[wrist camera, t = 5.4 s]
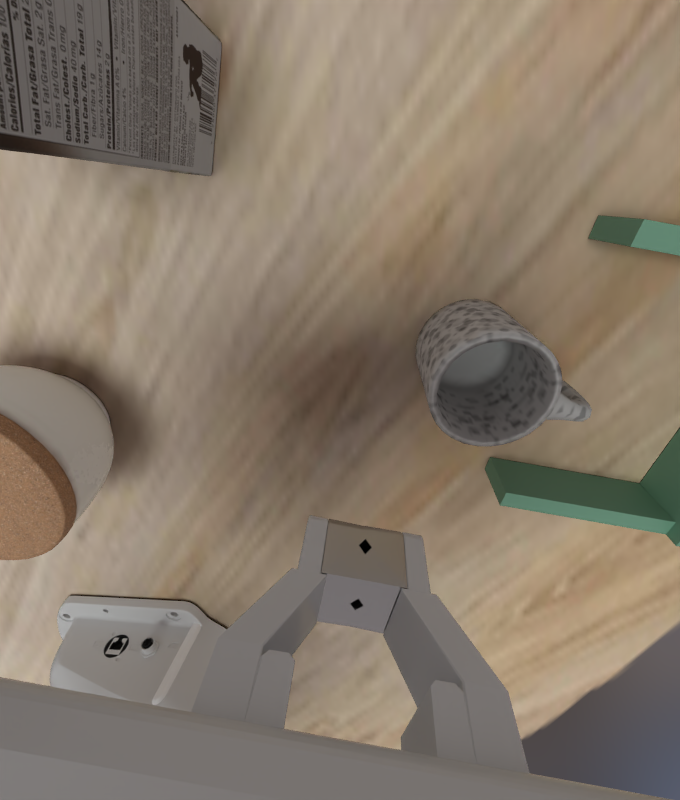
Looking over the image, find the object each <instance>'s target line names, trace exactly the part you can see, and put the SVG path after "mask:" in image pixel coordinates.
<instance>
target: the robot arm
mask: <svg viewBox="0 0 680 800" xmlns="http://www.w3.org/2000/svg"><path fill="white" fill-rule="evenodd" d="M317 621H319V622H325V623H332V624H338V625H345V626H351V627H356V628H360V629H365V630H370V631H374V632H379V633H384V635H383V636H384V638H385V640H386V642H387V644H388V646H389V648H390V650H391V653H392V655H393V657H394V659H395V661H396V663H397V665H398V667H399V669H400V672H401V674H402V676H403V678H404V680H405V682H406V684H407V686H408V688H409V690H410V693H411V695H412V697H413V699H414V701H415V703H416V705H417V707H418V709H417V711H416V712H415V714H414V716H413V717H412V719H411V721H410V723H409V724H408V726H407V728H406V729H405V731H404V733H403V735H402V736H401V750H397V749H392V748H386V747H381V746H375V745H370V744H364V743H359V742H353V741H348V740H342V739H337V738H331V737H326V736H320V735H315V734H309V733H304V732H298V731H293V730H287V729H284V724H285V718H286V712H287V706H288V700H289V694H290V688H291V682H292V676H293V670H294V664H295V660H294V659H293V658H292V655H293V653H294V652H295V651H296V649H297V648H298V647H299V646H300V644H301V643H302V642H303V640H304V639H305V638H306V636H307V635H308V634H309V632H310V631H311V630H312V628H313V627H314V626H315V624H316V622H317ZM57 623H58V629H59V632H60V635H61V638H62V640H63V641H62V643H61V645H60V647H59V649H58V651H57V653H56V655H55V658H54V660H53V663H52V667H51V671H50V686H46V685H40V684H35V683H29V682H24V681H18V680H13V679H7V678H2V677H0V800H670V799H665V798H660V797H655V796H649V795H643V794H637V793H632V792H627V791H622V790H616V789H611V788H605V787H600V786H594V785H589V784H583V783H578V782H572V781H566V780H561V779H556V778H550V777H544V776H540V775H534V774H530V773H529V770H528V765H527V762H526V758H525V754H524V750H523V747H522V743H521V739H520V735H519V731H518V728H517V724H516V720H515V716H514V712H513V709H512V705H511V701H510V697H509V693H508V691H507V690H506V688H505V687H504V685H503V684H502V683H501V681H500V680H499V679H498V677H497V676H496V675H495V673H494V672H493V671H492V669H491V668H490V667H489V665H488V664H487V662H486V661H485V660H484V658H483V657H482V656H481V654H480V653H479V652H478V650H477V649H476V648H475V646H474V645H473V643H472V642H471V641H470V639H469V638H468V637H467V635H466V634H465V633H464V631H463V630H462V629H461V627H460V626H459V625H458V623H457V622H456V620H455V619H454V618H453V616H452V615H451V614H450V612H449V611H448V610H447V608H446V607H445V606H444V604H443V603H442V601H441V600H440V599H439V597H438V596H437V595H435V594H431V592H430V585H429V578H428V571H427V564H426V557H425V550H424V542H423V538H422V537H421V536H420V535H414V534H409V533H403V532H402V533H401V532H398V531H392V530H386V529H381V528H375V527H369V526H361V525H356V524H352V523H347V522H342V521H337V520H333V519H329V520H328V519H326V518H322V517H317V516H312V515H310V516H309V519H308V522H307V527H306V532H305V537H304V541H303V546H302V551H301V555H300V560H299V565H298V569H294V568H292V569H290V570H289V571H288V572H287V573H286V574H285V575H284V576H283V577H282V578H281V579H280V580H279V581H278V582H277V583H276V584H275V585H273V586H272V587H271V588H270V589H269V590H268V591H267V592H266V593H265V594H264V595H263V596H262V597H261V598H260V599H259V600H258V601H257V602H255V603H254V604H253V605H252V606H251V607H250V608H249V609H248V610H247V611H246V612H245V613H244V614H243V615H242V616H241V617H240V618H239V619H237V620H236V621H235V622H234V623H233V624H232V625H231V626H230V627H229V628H228V629H225V628H224V627H222V626H220V625H219V624H217V623H215V622H213V621H212V620H210V619H209V618H207V617H206V615H205V614H204V613H203V612H202V611H201V610H200V609H199V608H198V607H197V606H195V605H194V604H192V603H190V602H186V601H169V600H149V599H130V598H110V597H91V596H69V597H68V598H67V599H66V600H65V601H64V603H63V604H62V606H61V607H60V609H59V612H58V616H57Z"/></svg>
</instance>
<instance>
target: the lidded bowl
mask: <svg viewBox="0 0 680 800" xmlns="http://www.w3.org/2000/svg"><path fill="white" fill-rule="evenodd" d="M113 454H114V439H113V434H112V430H111V423H110V418H109V415H108V412H107V410H106V408H105V407H104V405H103V403H102V402H101V401H100V400H99V398H98V397H97V396H96V395H95V394H94V393H93V392H92V391H91V390H89V389H88V388H87V387H86V386H84V385H82V384H81V383H79V382H77V381H75V380H73V379H71V378H69V377H66V376H63V375H58V374H54V373H51V372H48V371H45V370H41V369H37V368H33V367H26V366H16V365H0V560H21V559H29V558H32V557H36V556H39V555H42V554H44V553H46V552H48V551H50V550H52V549H53V548H54V547H55V546H56V545H58V544H59V543H60V542H61V540H62V539H63V538H64V537H65V536H66V535H67V533H68V532H69V530H70V529H71V528H72V526H73V524H74V523H75V522H76V521H77V520H78V518H79V517H80V516H81V515H82V514H83V513H84V511H85V510H86V509H87V508H88V507H89V505H90V504H91V502H92V501H93V499H94V498H95V497H96V495H97V494H98V492H99V491H100V489H101V488H102V486H103V484H104V482H105V480H106V478H107V476H108V473H109V471H110V468H111V464H112V461H113Z"/></svg>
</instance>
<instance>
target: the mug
mask: <svg viewBox="0 0 680 800" xmlns="http://www.w3.org/2000/svg"><path fill="white" fill-rule="evenodd" d="M416 360H417V364H418V368H419V372H420V375H421V379H422V383H423V386H424V390H425V394H426V397H427V401H428V405H429V408H430V411H431V414H432V417H433V419H434V420H435V422H436V424H437V425H438V426H439V427H440V429H441V430H442V431H443V432H445V433H446V434H447V435H449V436H450V437H451V438H453V439H455V440H458V441H460V442H462V443H465V444H470V445H475V446H496V445H503V444H506V443H510V442H513V441H515V440H518V439H520V438H522V437H524V436H526V435H528V434H529V433H531V432H532V431H533V430H535V429H536V428H537V427H539V426H540V425H541V424H542V423H543V422H544V421H545V420H546V419H547V420H570V421H584V420H586V419H588V418H589V417H590V415H591V411H592V409H591V407H590V405H589V404H588V402H587V401H586V400H585V399H584V398H583V397H582V396H581V395H580V394H579V393H578V392H577V391H576V390H575V389H573V388H572V387H571V386H570V385H569V384H567V383H566V382H565V381H563V380H562V374H561V369H560V366H559V363H558V361H557V359H556V358H555V356H554V355H553V353H552V352H551V351H550V350H549V349H548V348H547V347H546V346H545V345H543V344H542V343H541V342H540V341H539V340H538V339H537V338H535V337H534V336H533V335H532V334H531V333H530V332H528V331H527V330H526V329H525V328H524V327H523V326H521V325H520V324H519V323H518V322H517V321H516V320H515V319H513V318H512V317H511V316H510V315H509V314H508V313H506V312H505V311H504V310H503V309H502V308H501V307H499V306H497V305H495V304H493V303H491V302H488V301H483V300H478V299H472V300H462V301H457V302H454V303H452V304H449V305H447V306H445V307H443V308H441V309H440V310H439V311H437V312H436V313H435V314H434V315H433V316H432V317H431V318H430V319H429V320H428V321H427V322H426V323H425V325H424V327H423V328H422V330H421V332H420V334H419V337H418V340H417V344H416Z"/></svg>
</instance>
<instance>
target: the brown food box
mask: <svg viewBox="0 0 680 800" xmlns="http://www.w3.org/2000/svg"><path fill="white" fill-rule="evenodd" d="M221 49H222V46H221V42H220V40H219V38H218V37H217V36H216V35H215V34H214V33H213V32H212V31H211V30H210V29H209V28H208V27H207V26H206V25H205V24H204V23H203V22H202V20H201V19H200V18H199V17H198V16H197V15H196V14H195V13H194V12H193V11H192V10H191V9H190V7H189V6H188V5H187V4H186V3H185V2H184V1H183V0H0V149H2V150H9V151H17V152H26V153H34V154H42V155H50V156H57V157H65V158H73V159H80V160H88V161H96V162H103V163H111V164H118V165H126V166H134V167H141V168H149V169H157V170H164V171H170V172H178V173H185V174H194V175H203V176H211V174H212V164H213V152H214V139H215V126H216V114H217V101H218V88H219V75H220V62H221Z"/></svg>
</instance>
